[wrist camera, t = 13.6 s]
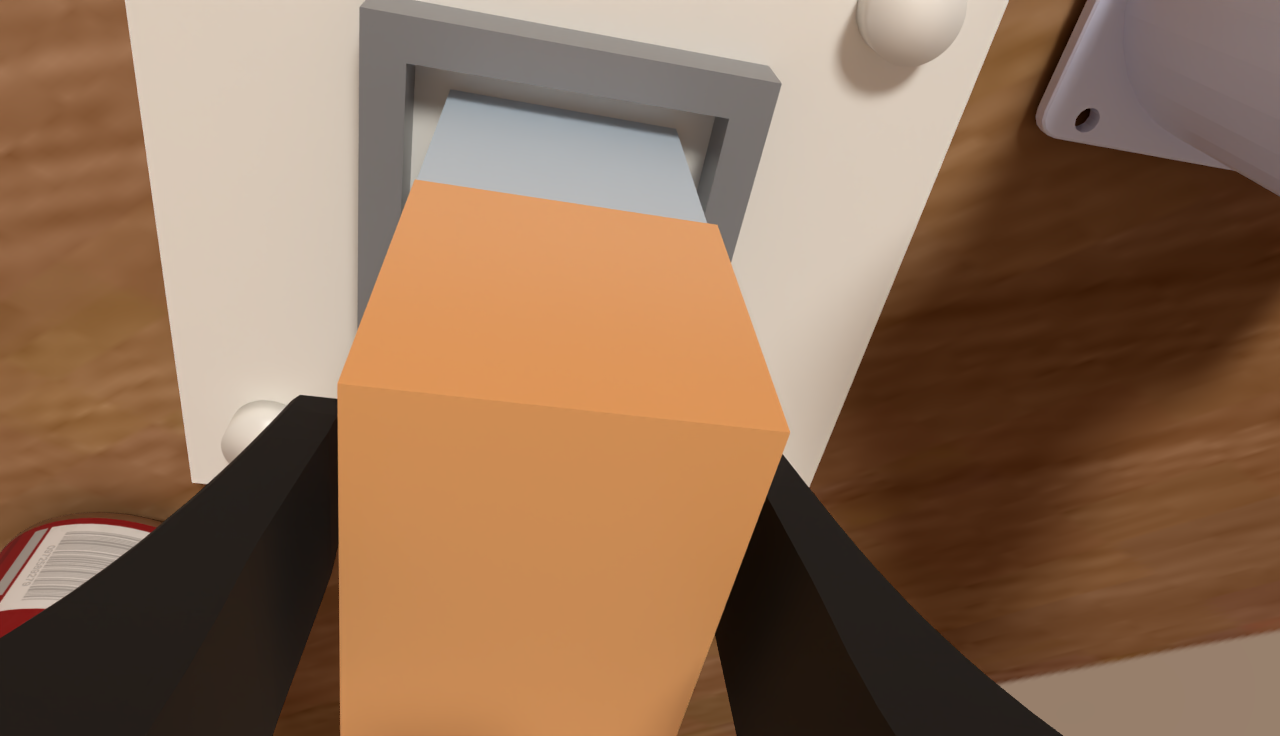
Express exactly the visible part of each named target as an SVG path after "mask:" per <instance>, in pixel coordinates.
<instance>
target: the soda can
mask: <svg viewBox="0 0 1280 736" xmlns="http://www.w3.org/2000/svg"><path fill="white" fill-rule="evenodd" d="M160 524H162V522H159V521H156V520H152V519H148V518H144V517H139V516H134V515H128V514H119V513H106V512H87V513H76V514H69V515H63V516H59V517H55V518H51V519H48V520H45V521H42V522H39V523H37V524H35V525H33V526H30V527H29V528H27V529H25V530H24V531H22V532H20V533H19V534H18V535H17V536H15V537H14V538H13V539H12V540H11V541H10V542H9V543H8V544H7V545H6V546H5V547H4V549H3V550H2V552H1V553H0V638H1V637H3V636H4V635H6V634H7V633H9V632H11V631H12V630H14V629H15V628H17V627H19V626H20V625H22V624H23V623H25V622H26V621H28V620H29V619H31V618H32V617H34V616H36V615H37V614H39V613H40V612H42V611H43V610H45V609H46V608H48V607H49V606H51V605H53V604H54V603H56V602H57V601H59V600H60V599H62V598H63V597H65V596H66V595H68V594H69V593H71V592H72V591H73V590H75V589H76V588H78V587H79V586H80V585H82V584H83V583H85V582H86V581H88V580H89V579H90V578H92V577H93V576H95V575H96V574H97V573H99V572H100V571H102V570H103V569H104V568H106V567H107V566H108V565H110V564H111V563H112V562H114V561H115V560H116V559H118V558H119V557H120V556H122V555H123V554H124V553H126V552H127V551H128V550H130V549H131V548H132V547H133V546H135V545H136V544H137V543H139V542H140V541H141V540H142V539H144V538H145V537H146V536H147V535H148V534H150V533H151V532H152V531H153V530H154V529H156V528H157V527H158V526H159V525H160Z"/></svg>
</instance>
